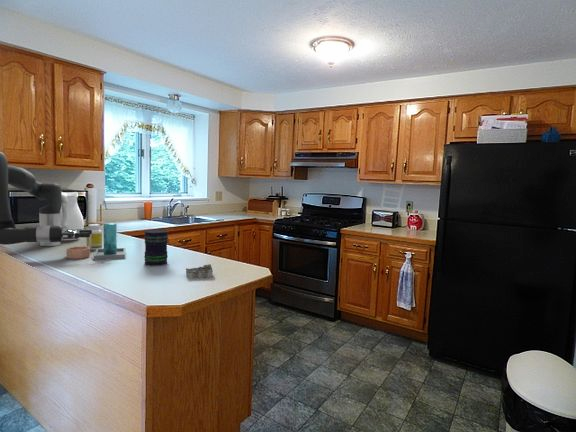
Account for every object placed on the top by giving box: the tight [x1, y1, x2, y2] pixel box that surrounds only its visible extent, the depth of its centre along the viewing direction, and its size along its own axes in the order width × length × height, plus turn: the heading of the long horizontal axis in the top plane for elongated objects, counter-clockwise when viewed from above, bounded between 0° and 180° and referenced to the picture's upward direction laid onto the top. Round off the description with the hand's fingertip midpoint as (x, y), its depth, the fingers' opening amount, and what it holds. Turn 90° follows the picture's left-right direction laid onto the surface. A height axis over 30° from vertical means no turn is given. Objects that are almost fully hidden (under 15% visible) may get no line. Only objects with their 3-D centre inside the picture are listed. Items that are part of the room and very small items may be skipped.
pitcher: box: [60, 191, 85, 242], centre depth 200 cm, size 24×17×28 cm
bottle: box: [103, 222, 118, 255], centre depth 167 cm, size 6×6×15 cm
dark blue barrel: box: [143, 229, 169, 267], centre depth 156 cm, size 10×10×15 cm
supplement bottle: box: [86, 223, 103, 251], centre depth 181 cm, size 7×7×13 cm
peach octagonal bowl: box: [65, 245, 91, 260], centre depth 163 cm, size 9×9×4 cm
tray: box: [93, 247, 126, 261], centre depth 168 cm, size 16×13×2 cm
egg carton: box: [185, 264, 214, 279], centre depth 140 cm, size 11×8×4 cm
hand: (90, 233), depth 163 cm, fingers open, 8 cm apart
